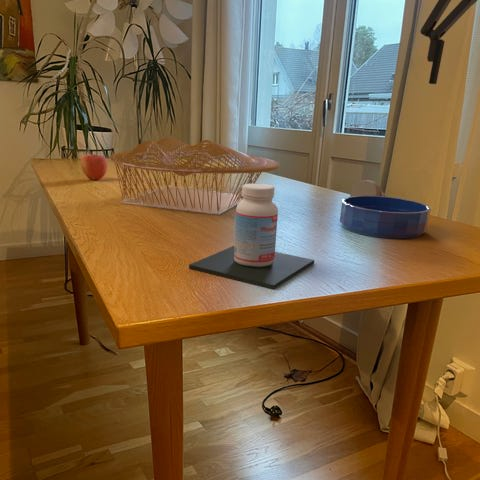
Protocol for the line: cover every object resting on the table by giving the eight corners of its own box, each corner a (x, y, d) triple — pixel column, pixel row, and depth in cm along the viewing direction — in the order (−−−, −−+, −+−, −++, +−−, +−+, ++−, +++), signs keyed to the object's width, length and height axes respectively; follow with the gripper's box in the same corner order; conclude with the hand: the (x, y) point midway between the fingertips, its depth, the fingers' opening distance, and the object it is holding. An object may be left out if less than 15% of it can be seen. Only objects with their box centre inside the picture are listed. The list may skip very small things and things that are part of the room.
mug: (393, 210, 117) (397, 176, 109) (366, 231, 114) (368, 197, 106) (369, 197, 121) (372, 164, 113) (343, 217, 118) (343, 184, 110)
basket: (251, 226, 95) (255, 153, 89) (80, 204, 106) (73, 138, 100) (291, 196, 126) (296, 141, 120) (156, 182, 137) (155, 131, 131)
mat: (314, 263, 75) (314, 259, 74) (273, 289, 64) (273, 285, 63) (237, 247, 81) (238, 243, 81) (188, 268, 70) (188, 264, 70)
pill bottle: (267, 270, 68) (272, 191, 64) (227, 264, 70) (230, 186, 66) (278, 259, 74) (284, 185, 69) (242, 253, 75) (245, 181, 71)
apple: (76, 178, 137) (74, 149, 134) (98, 176, 142) (96, 148, 139) (91, 182, 133) (89, 152, 129) (113, 180, 138) (111, 150, 134)
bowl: (432, 227, 101) (437, 203, 99) (414, 244, 87) (420, 217, 85) (354, 214, 109) (357, 192, 107) (327, 229, 95) (330, 204, 93)
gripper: (419, -73, 73) (394, 81, 82) (616, -97, 62) (562, 85, 71) (428, -59, 79) (404, 83, 88) (610, -78, 68) (561, 88, 76)
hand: (474, 85), depth 79 cm, fingers open, 13 cm apart
